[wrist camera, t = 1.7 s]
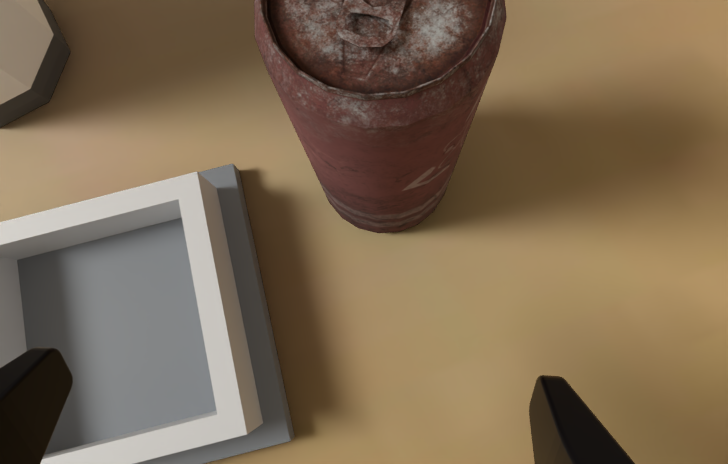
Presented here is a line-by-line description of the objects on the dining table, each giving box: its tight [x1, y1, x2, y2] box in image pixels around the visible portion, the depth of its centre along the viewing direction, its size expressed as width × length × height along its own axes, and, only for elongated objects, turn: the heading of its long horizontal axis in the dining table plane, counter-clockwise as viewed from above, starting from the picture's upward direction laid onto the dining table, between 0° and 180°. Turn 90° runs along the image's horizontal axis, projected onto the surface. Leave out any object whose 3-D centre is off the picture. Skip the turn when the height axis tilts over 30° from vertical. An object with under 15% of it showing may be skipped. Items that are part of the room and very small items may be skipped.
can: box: [254, 0, 506, 233], centre depth 18 cm, size 6×6×14 cm
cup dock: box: [0, 164, 295, 464], centre depth 22 cm, size 13×13×4 cm
